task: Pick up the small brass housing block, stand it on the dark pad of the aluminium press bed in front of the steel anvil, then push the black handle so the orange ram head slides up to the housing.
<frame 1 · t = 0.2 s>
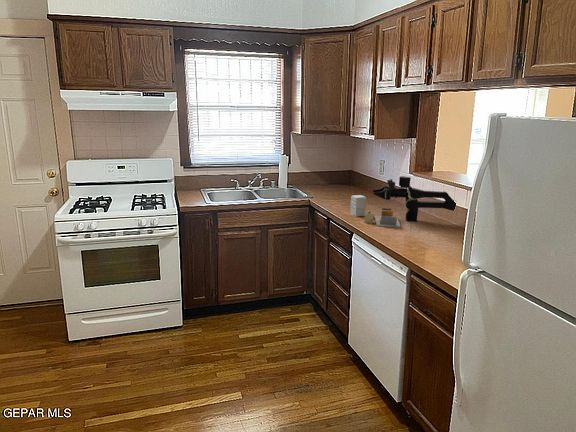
hand: (373, 192, 280), 17 cm above the countertop, tool horizontal, fingers open, 9 cm apart
press ram: (386, 213, 280), point 4 cm above the countertop, slide at 0.0 cm
supplement box: (357, 215, 291), on the countertop
housing: (368, 222, 273), on the countertop
press bed: (387, 222, 273), on the countertop
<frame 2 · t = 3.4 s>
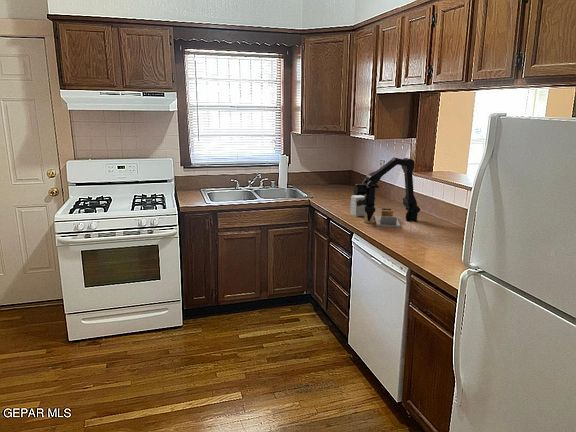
hand: (368, 219, 273), 2 cm above the countertop, tool pointing down, fingers closed on housing, 5 cm apart
housing: (368, 222, 273), on the countertop, touching gripper
everything else where it was.
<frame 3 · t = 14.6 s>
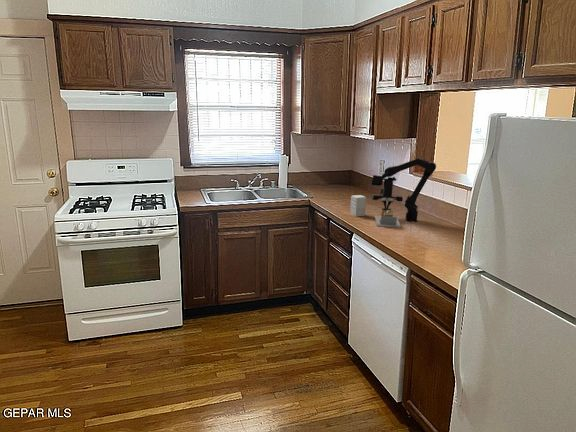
hand: (386, 210, 285), 4 cm above the countertop, tool pointing down, fingers closed, pressing on press ram
press ram: (386, 213, 280), point 4 cm above the countertop, slide at 0.1 cm, touching gripper
housing: (387, 222, 269), point 1 cm above the countertop, touching press bed
everything else where it was.
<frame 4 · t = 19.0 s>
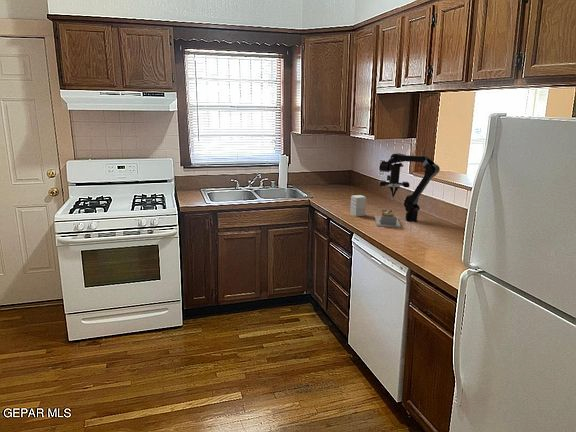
hand: (392, 196, 287), 13 cm above the countertop, tool pointing down, fingers closed
press ram: (387, 215, 275), point 4 cm above the countertop, slide at 5.5 cm
everything else where it was.
at the end: housing 0.2 cm from the target spot on the press bed, point 1.4 cm above the press bed's base; housing tilted 0°; press ram slide at 5.5 cm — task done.
